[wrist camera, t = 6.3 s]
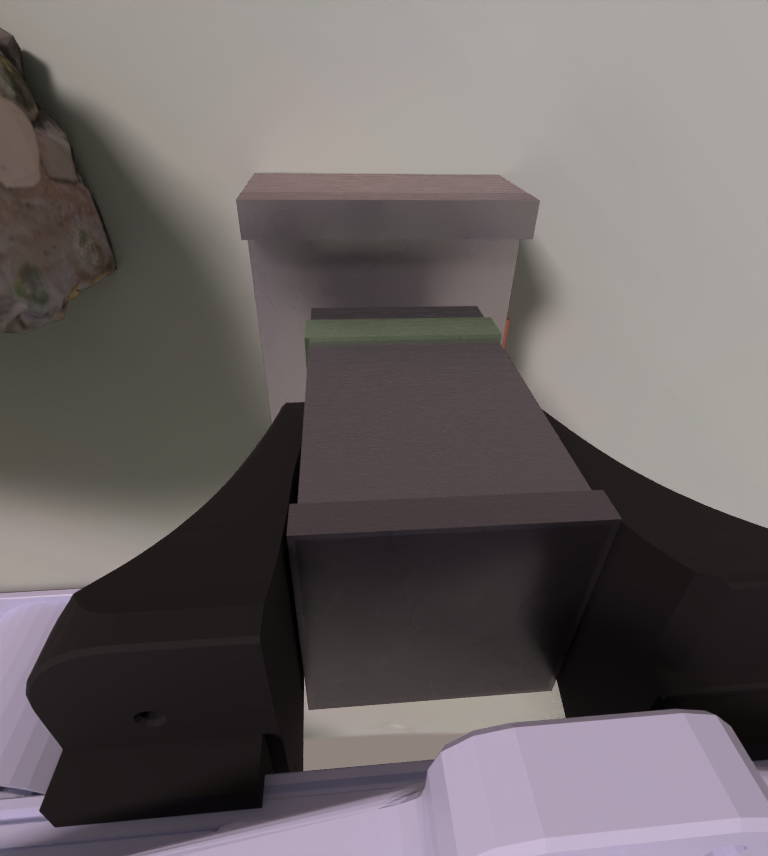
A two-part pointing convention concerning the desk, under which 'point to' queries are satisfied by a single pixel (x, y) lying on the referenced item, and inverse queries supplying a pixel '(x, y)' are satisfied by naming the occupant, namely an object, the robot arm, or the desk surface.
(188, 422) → the desk surface
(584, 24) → the desk surface
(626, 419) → the desk surface
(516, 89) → the desk surface
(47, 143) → the fossil rock
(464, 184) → the stand block
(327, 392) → the grey rectangular block
